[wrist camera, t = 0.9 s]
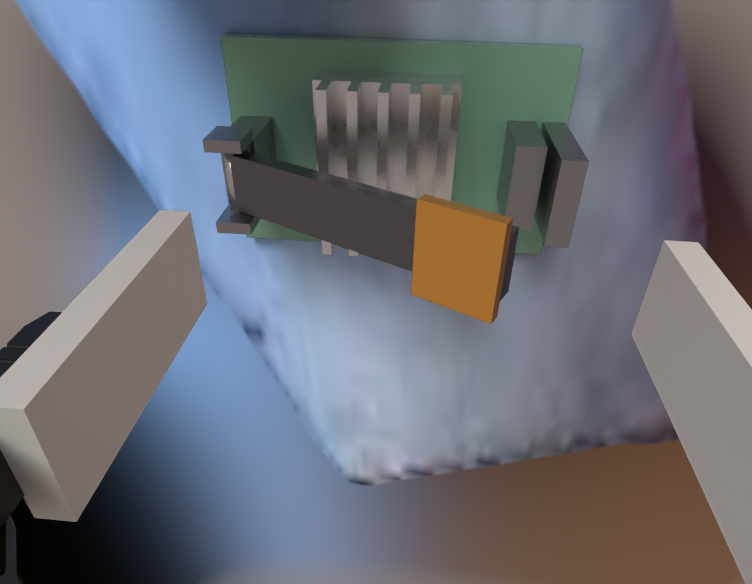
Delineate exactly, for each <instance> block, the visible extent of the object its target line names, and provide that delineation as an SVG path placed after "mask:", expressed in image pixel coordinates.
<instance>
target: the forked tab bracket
mask: <svg viewBox="0 0 752 584" xmlns="http://www.w3.org/2000/svg"><path fill="white" fill-rule="evenodd" d="M203 145H204V152H214V153H221V156H222V153H235V154H242V152H243V151H244V150H245V151H248V152H252V153H255V154H259V155H263V156H266V157H270V158H273V159H276V152H275V141H274V130H273V118H272V117H266V116H243V115H241V116H240V117H239V118H238V119H237V120H236V121H235V122H234V123H233V124H232V125H231V126H230V127H226V126H217V127H216V128H215V129H214V130H212V131H211V132H210V133H209V134H208V135H207V136H206V137H205V138H204V139H203ZM222 163H223V160H222ZM223 170H224V167H223ZM224 177H225V174H224ZM225 184H226V181H225ZM226 190H227V188H226ZM227 197H228V195H227ZM228 204H229V202H228ZM259 221H260V218H257V217H255V216H252V215H249V214H246V213H243V212H235V211H231V210H230V209H229V205H228V207H227V208H226V209H225V211H224V212H223V213H222V215H221V216H220V217H219V219H218V220H217V221H216V226H217V232H218V233H234V234H252V232H253V231H254V229H255V227H256V226H257V224H258V222H259Z"/></svg>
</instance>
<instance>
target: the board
mask: <svg viewBox="0 0 752 584" xmlns="http://www.w3.org/2000/svg"><path fill="white" fill-rule="evenodd" d="M221 42H222V49H223V57H224V65H225V72H226V80H227V88H228V96H229V103H230V111H231V119H232V124H233V123H234V122H235V121H236V120H237V119H238V118H239V117H240V116H241V115H243V116H266V117H272V118H273V130H274V141H275V152H276V159H277V160H281V161H284V162H288V163H291V164H295V165H298V166H302V167H306V168H309V169H313V170H316V149H315V128H314V107H313V85H312V80H313V78H314V77H315V76H316V75H317V73H318V72H319V71H320V70H335V71H362V72H389V73H416V74H443V75H461V81H462V92H461V102H460V112H459V123H458V133H457V143H456V154H455V164H454V174H453V185H452V195H451V201H452V202H456V203H460V204H463V205H467V206H471V207H474V208H478V209H482V210H485V211H489V212H493V213H496V214H500V211H499V206H498V201H497V190H498V183H499V176H500V169H501V163H502V156H503V149H504V142H505V135H506V128H507V121H508V120H516V121H536V123H537V125H538V128H539V130H540V132H541V127H542V122H563V123H566V125H567V124H568V120H569V115H570V110H571V105H572V100H573V95H574V90H575V86H576V81H577V76H578V71H579V66H580V61H581V57H582V52H583V48H582V47H581V46H580V45H560V44H529V43H499V42H468V41H438V40H408V39H377V38H347V37H317V36H286V35H256V34H224V35H223V36H221ZM316 171H317V170H316ZM246 235H247V237H251V238H268V239H285V240H302V241H319V242H322V240H321V239H318V238H315V237H312V236H309V235H306V234H303V233H301V232H298V231H295V230H292V229H289V228H286V227H283V226H280V225H278V224H275V223H272V222H269V221H266V220H263V219H260V221H259V222H258V224H257V226H256V227H255V229H254V231H253V232H252V234H246ZM542 246H543V241H542V238H541V235H540V232H539V229H538V226H537V222H536V219H535V218H534V223H533V228H532V231H529V230H519V232H518V238H517V244H516V249H515V253H522V254H539V255H541V251H542Z"/></svg>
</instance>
